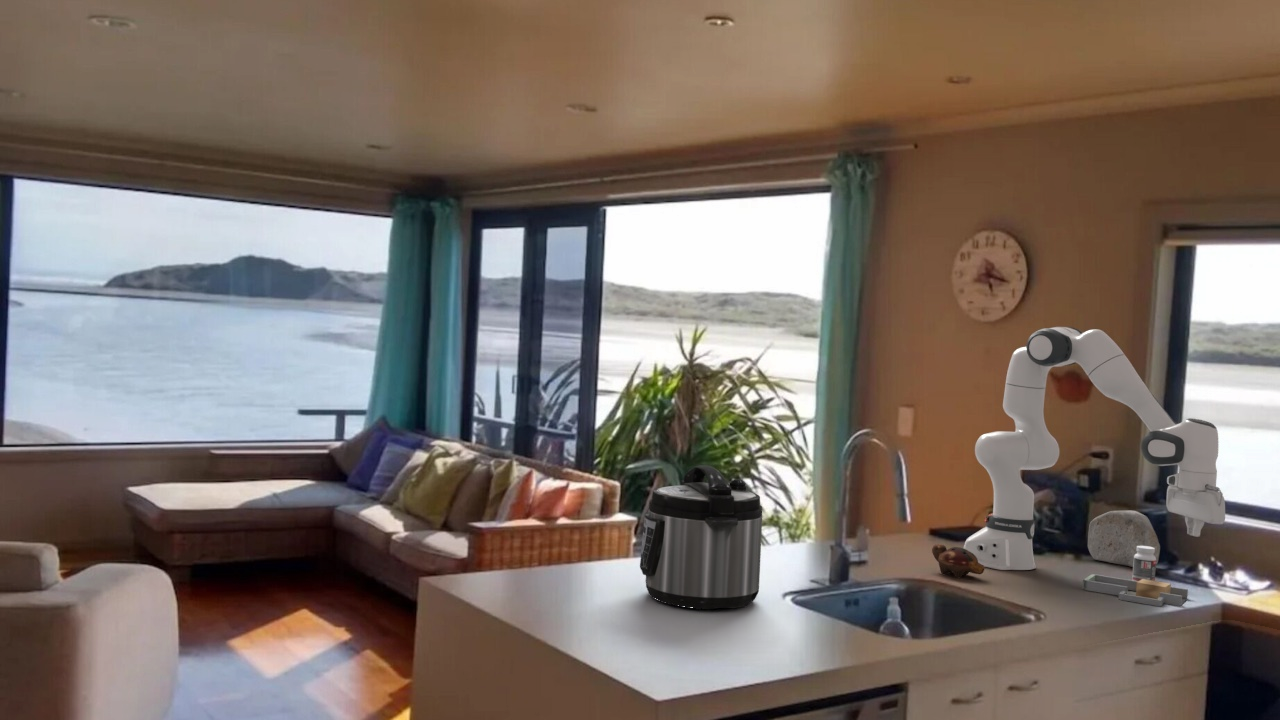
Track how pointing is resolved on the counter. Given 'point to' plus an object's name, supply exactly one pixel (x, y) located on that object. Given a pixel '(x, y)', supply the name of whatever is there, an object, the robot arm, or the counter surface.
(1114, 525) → the decorative stone
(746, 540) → the pressure cooker
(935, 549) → the decorative turtle
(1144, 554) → the pill bottle
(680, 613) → the counter surface
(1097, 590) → the channel
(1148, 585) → the oak block
